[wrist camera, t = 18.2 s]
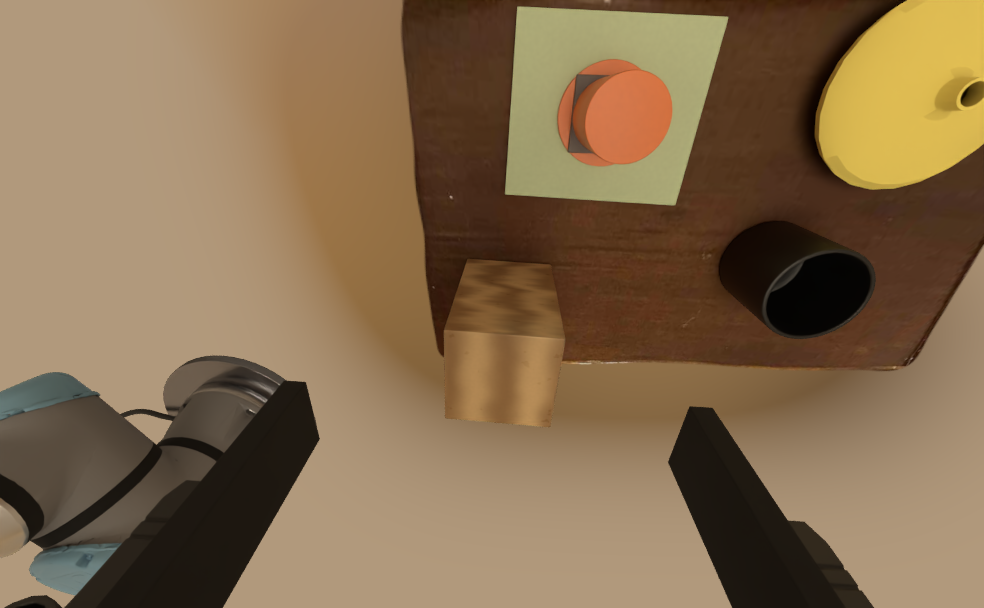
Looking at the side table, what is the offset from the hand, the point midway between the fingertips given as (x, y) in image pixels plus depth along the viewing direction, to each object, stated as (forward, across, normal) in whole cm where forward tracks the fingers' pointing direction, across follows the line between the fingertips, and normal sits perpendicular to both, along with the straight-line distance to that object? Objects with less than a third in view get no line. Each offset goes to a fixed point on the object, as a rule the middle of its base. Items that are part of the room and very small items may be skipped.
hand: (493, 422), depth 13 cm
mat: (+32, +9, +9) cm, 34 cm away
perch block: (+32, +1, -12) cm, 34 cm away
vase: (+32, +35, +12) cm, 49 cm away
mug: (+32, +31, -5) cm, 45 cm away
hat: (+31, +9, +9) cm, 34 cm away
